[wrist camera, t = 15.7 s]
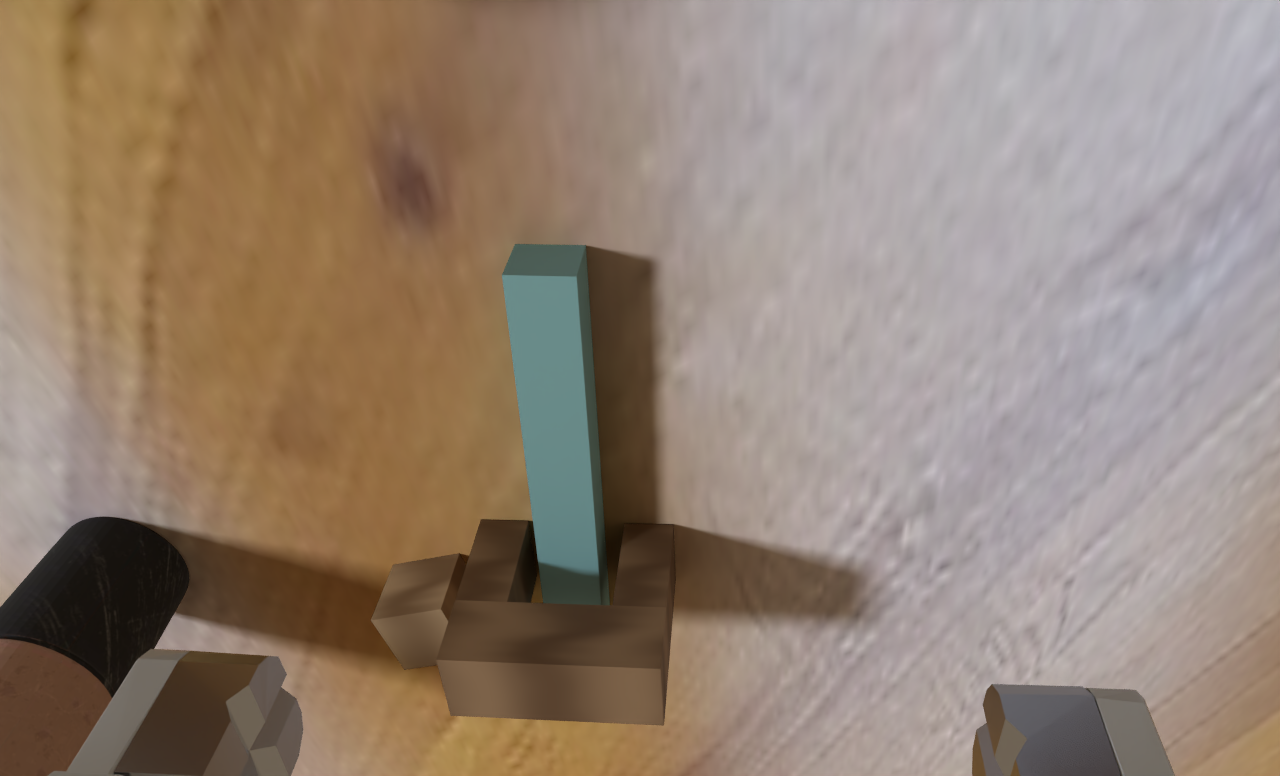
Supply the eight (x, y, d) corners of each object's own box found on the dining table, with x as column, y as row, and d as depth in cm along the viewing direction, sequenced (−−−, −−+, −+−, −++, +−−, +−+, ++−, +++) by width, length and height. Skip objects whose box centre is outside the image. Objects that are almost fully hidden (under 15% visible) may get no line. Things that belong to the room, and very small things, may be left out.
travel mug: (128, 496, 52) (-153, 862, 36) (222, 589, 56) (7, 958, 39) (30, 535, 54) (-274, 893, 38) (126, 621, 58) (-113, 981, 42)
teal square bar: (587, 241, 41) (576, 276, 39) (610, 599, 54) (603, 642, 51) (516, 240, 41) (502, 274, 39) (557, 597, 54) (548, 639, 52)
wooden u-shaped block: (673, 524, 49) (660, 669, 42) (675, 579, 52) (663, 725, 45) (481, 519, 50) (436, 659, 43) (491, 573, 53) (450, 715, 46)
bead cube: (459, 552, 52) (440, 609, 49) (488, 602, 54) (472, 660, 51) (393, 563, 53) (370, 620, 50) (424, 612, 55) (404, 669, 52)
